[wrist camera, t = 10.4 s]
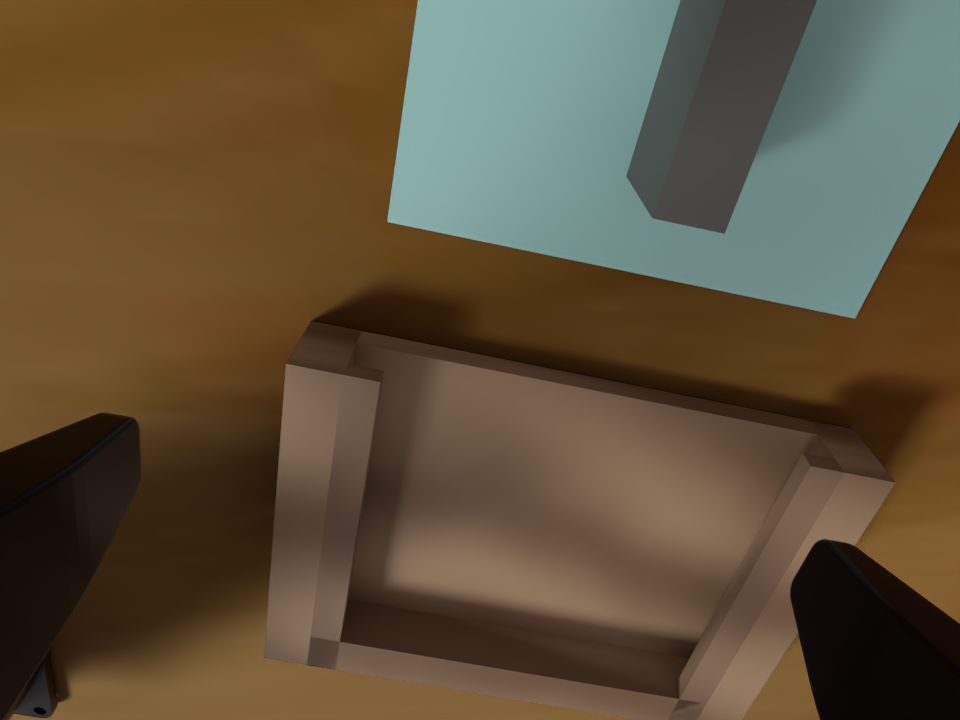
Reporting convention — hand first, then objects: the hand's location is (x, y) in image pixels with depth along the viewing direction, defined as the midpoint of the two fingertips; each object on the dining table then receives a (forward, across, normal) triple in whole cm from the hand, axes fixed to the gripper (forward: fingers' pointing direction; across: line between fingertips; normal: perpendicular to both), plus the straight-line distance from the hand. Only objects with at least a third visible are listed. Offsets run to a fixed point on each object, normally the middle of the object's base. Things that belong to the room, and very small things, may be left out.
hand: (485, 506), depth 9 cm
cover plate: (+11, -4, -5) cm, 13 cm away
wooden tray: (+11, -4, +9) cm, 15 cm away
